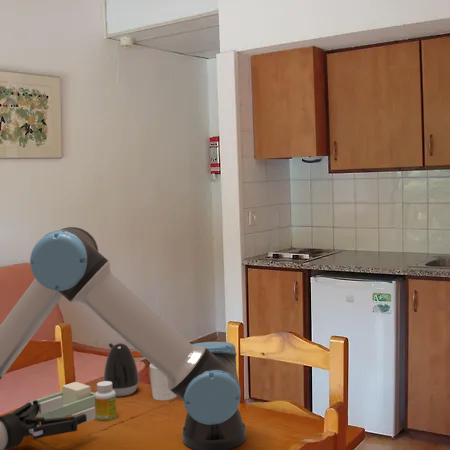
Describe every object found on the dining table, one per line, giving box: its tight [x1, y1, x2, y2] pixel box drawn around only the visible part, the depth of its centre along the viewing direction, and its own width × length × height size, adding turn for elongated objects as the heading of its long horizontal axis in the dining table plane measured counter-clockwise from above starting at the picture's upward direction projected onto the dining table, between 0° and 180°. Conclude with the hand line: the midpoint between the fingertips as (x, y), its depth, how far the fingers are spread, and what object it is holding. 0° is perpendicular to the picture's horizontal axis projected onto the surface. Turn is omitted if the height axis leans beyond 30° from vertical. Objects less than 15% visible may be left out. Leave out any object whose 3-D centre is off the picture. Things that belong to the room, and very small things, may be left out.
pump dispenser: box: [103, 342, 140, 397], centre depth 184 cm, size 10×10×15 cm
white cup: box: [149, 363, 178, 402], centre depth 179 cm, size 8×8×10 cm
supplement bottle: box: [94, 381, 117, 422], centre depth 165 cm, size 5×5×10 cm
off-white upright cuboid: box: [61, 381, 92, 404], centre depth 176 cm, size 7×4×5 cm, turn 49°
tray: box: [25, 391, 96, 419], centre depth 173 cm, size 11×16×4 cm
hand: (78, 406), depth 159 cm, fingers open, 13 cm apart
